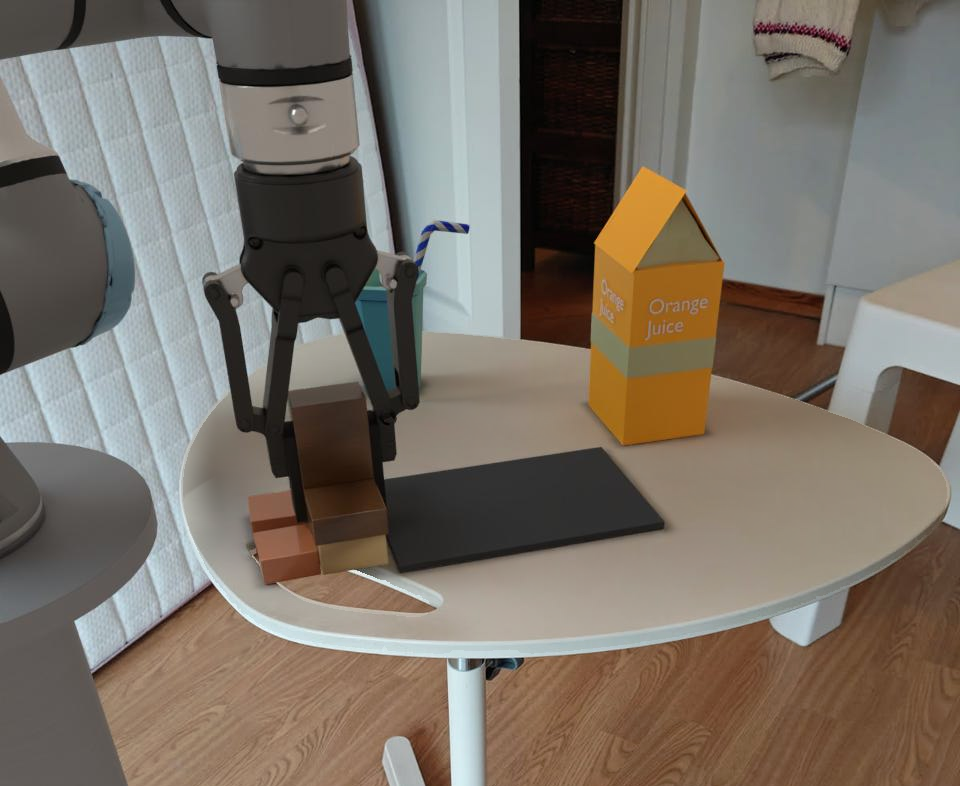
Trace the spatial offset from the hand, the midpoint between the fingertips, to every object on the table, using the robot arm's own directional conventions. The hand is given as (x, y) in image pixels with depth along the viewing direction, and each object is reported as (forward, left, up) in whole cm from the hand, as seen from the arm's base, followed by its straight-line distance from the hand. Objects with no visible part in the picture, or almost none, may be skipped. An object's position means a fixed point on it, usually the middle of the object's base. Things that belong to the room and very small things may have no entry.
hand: (339, 506), depth 73 cm
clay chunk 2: (-4, -3, -3) cm, 6 cm away
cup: (+10, +26, -3) cm, 28 cm away
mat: (+13, 0, -3) cm, 13 cm away
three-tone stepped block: (0, 0, -2) cm, 2 cm away
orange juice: (+29, +12, -3) cm, 32 cm away
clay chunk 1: (-4, +3, -3) cm, 6 cm away
